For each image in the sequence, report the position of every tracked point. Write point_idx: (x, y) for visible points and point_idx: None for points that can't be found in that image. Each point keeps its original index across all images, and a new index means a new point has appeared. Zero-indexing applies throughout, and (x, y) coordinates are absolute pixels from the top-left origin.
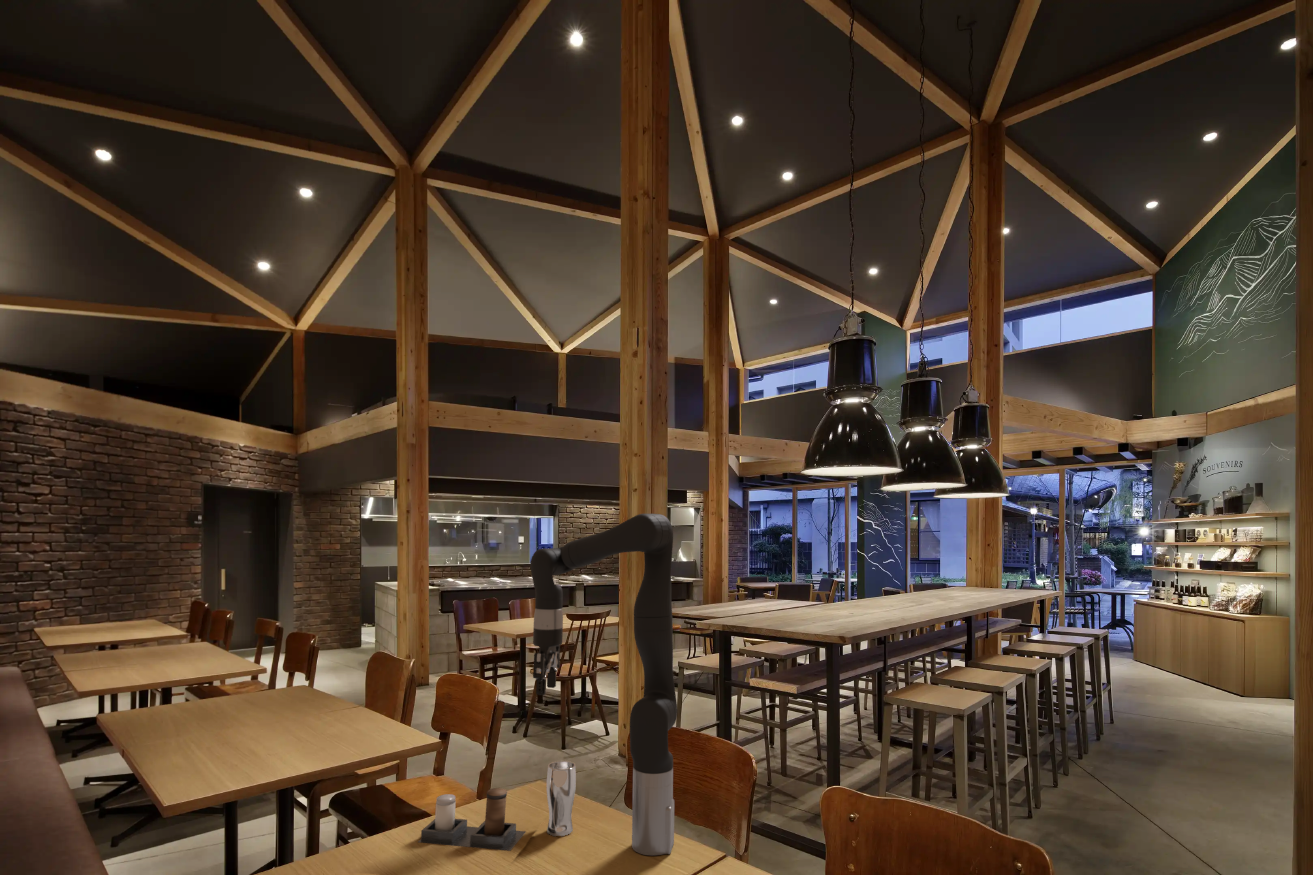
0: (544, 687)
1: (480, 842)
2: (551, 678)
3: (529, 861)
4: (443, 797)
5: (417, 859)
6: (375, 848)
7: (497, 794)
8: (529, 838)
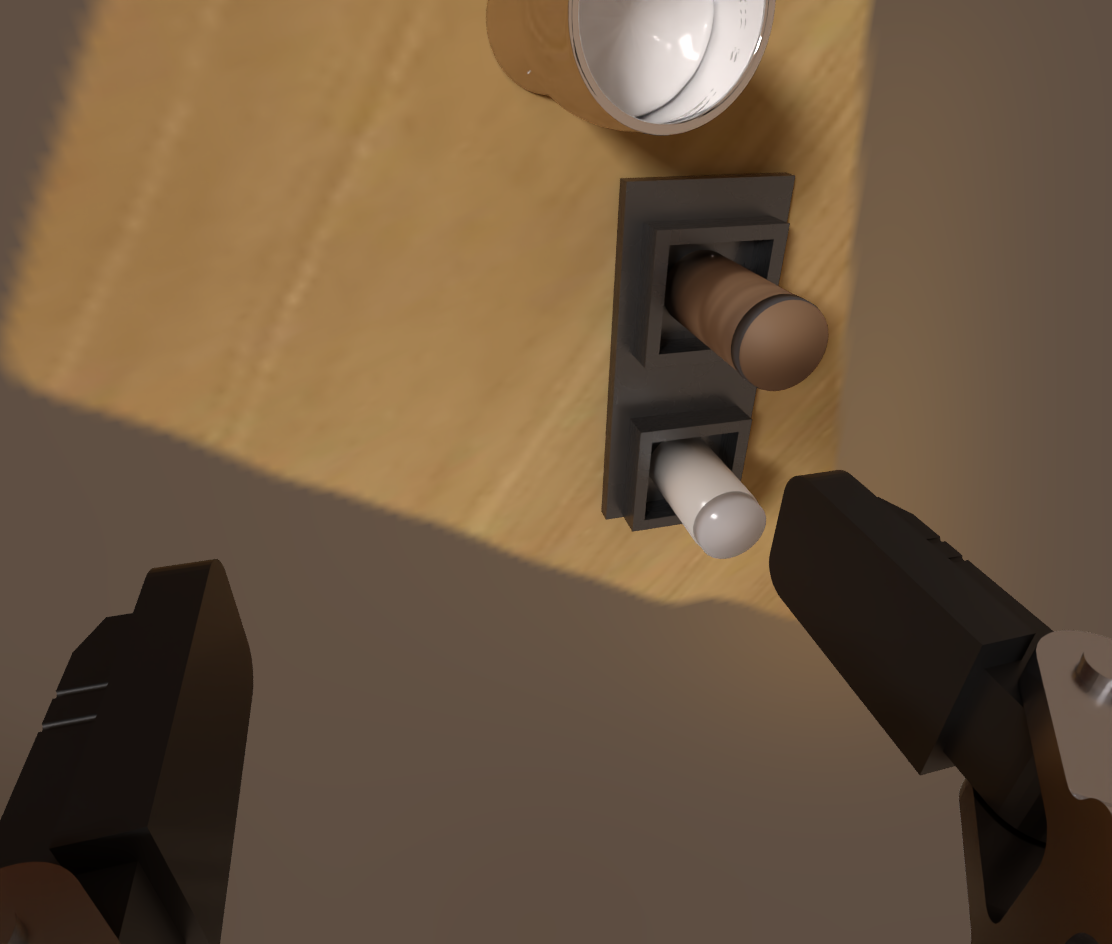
0: (914, 536)
1: None
2: (204, 758)
3: (834, 68)
4: (731, 538)
5: (804, 447)
6: (742, 576)
7: (821, 326)
8: (641, 152)
